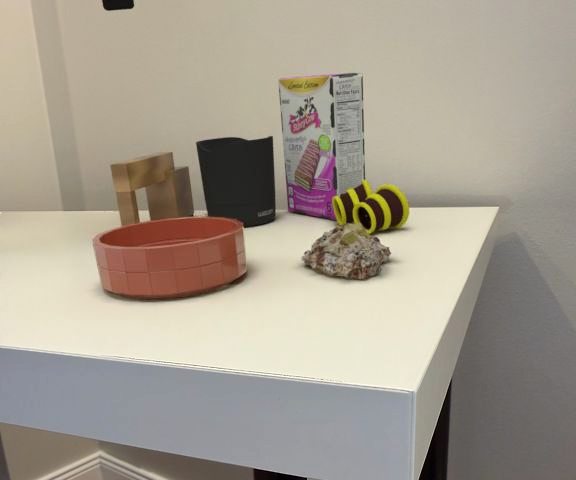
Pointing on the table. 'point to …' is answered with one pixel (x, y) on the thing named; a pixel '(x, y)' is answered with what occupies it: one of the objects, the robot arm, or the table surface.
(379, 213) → the opera glasses
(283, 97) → the candy bar box
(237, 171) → the pen holder
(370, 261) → the mineral rock
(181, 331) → the table surface
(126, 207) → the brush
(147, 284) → the bowl
